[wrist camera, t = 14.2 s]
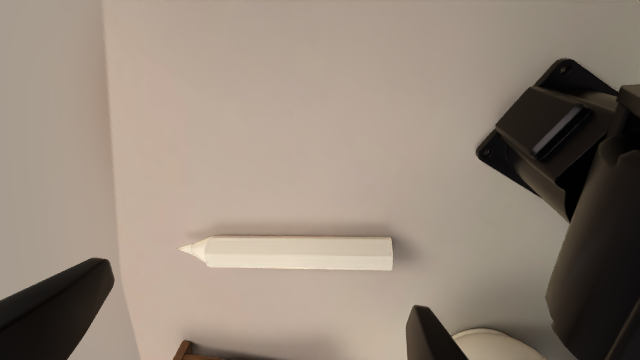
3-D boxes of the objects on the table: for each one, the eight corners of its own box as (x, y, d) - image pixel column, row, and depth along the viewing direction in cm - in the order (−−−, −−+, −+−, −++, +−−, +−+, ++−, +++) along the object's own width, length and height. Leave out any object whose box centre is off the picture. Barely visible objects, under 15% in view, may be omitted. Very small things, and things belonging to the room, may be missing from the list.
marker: (186, 233, 25) (389, 235, 23) (186, 260, 25) (389, 264, 23) (166, 238, 22) (392, 240, 20) (166, 268, 22) (393, 273, 20)
